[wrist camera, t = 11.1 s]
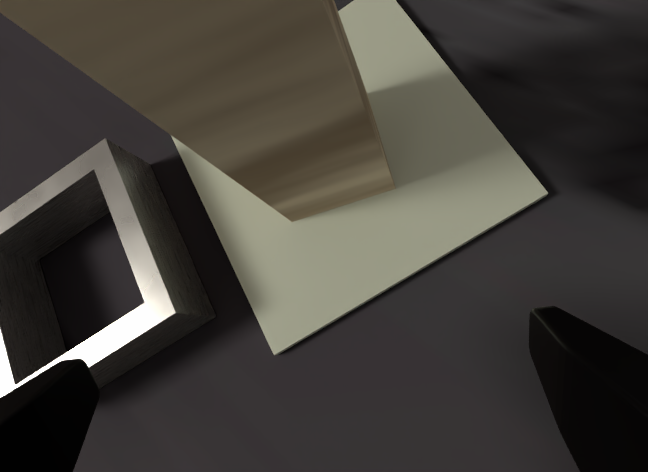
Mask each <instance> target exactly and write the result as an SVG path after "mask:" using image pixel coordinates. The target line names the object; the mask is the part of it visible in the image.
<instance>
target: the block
mask: <svg viewBox="0 0 648 472" xmlns="http://www.w3.org/2000/svg"><path fill="white" fill-rule="evenodd" d="M0 13H2V14H3V15H5V16H6V17H7V18H9V19H10V20H11V21H13V22H14V23H16V24H17V25H18V26H20V27H21V28H23V29H24V30H25V31H27V32H28V33H30V34H31V35H32V36H34V37H35V38H37V39H38V40H39V41H41V42H42V43H44V44H45V45H46V46H48V47H49V48H50V49H52V50H53V51H55V52H56V53H57V54H59V55H60V56H62V57H63V58H64V59H66V60H67V61H69V62H70V63H71V64H73V65H74V66H76V67H77V68H78V69H80V70H81V71H82V72H84V73H85V74H87V75H88V76H89V77H91V78H92V79H94V80H95V81H96V82H98V83H99V84H101V85H102V86H103V87H105V88H106V89H108V90H109V91H110V92H112V93H113V94H115V95H116V96H117V97H119V98H120V99H121V100H123V101H124V102H126V103H127V104H128V105H130V106H131V107H133V108H134V109H135V110H137V111H138V112H140V113H141V114H142V115H144V116H145V117H147V118H148V119H149V120H151V121H152V122H154V123H155V124H156V125H158V126H159V127H160V128H162V129H163V130H165V131H166V132H167V133H169V134H170V135H172V136H173V137H174V138H176V139H177V140H179V141H180V142H181V143H183V144H184V145H186V146H187V147H188V148H190V149H191V150H193V151H194V152H195V153H197V154H198V155H199V156H201V157H202V158H204V159H205V160H206V161H208V162H209V163H211V164H212V165H213V166H215V167H216V168H218V169H219V170H220V171H222V172H223V173H225V174H226V175H227V176H229V177H230V178H231V179H233V180H234V181H236V182H237V183H238V184H240V185H241V186H243V187H244V188H245V189H247V190H248V191H250V192H251V193H252V194H254V195H255V196H257V197H258V198H259V199H261V200H262V201H264V202H265V203H266V204H268V205H269V206H270V207H272V208H273V209H275V210H276V211H277V212H279V213H280V214H282V215H283V216H284V217H286V218H287V219H289V220H290V221H291V222H294V221H297V220H300V219H303V218H306V217H309V216H312V215H315V214H318V213H322V212H325V211H328V210H331V209H334V208H337V207H340V206H343V205H346V204H350V203H353V202H356V201H359V200H362V199H365V198H368V197H371V196H374V195H378V194H381V193H384V192H387V191H390V190H393V189H396V188H395V184H394V181H393V178H392V174H391V171H390V168H389V164H388V161H387V158H386V154H385V151H384V148H383V144H382V141H381V138H380V134H379V131H378V128H377V124H376V121H375V118H374V114H373V111H372V108H371V104H370V101H369V98H368V94H367V92H366V89H365V86H364V83H363V80H362V77H361V75H360V72H359V69H358V66H357V63H356V61H355V58H354V55H353V52H352V49H351V47H350V44H349V41H348V38H347V35H346V33H345V30H344V27H343V24H342V21H341V19H340V16H339V13H338V10H337V7H336V5H335V2H334V0H0Z"/></svg>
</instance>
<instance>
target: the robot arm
mask: <svg viewBox="0 0 648 472" xmlns="http://www.w3.org/2000/svg"><path fill="white" fill-rule="evenodd" d="M529 349H530V354H531V357H532V360H533V362H534V365H535V368H536V370H537V373H538V376H539V378H540V381H541V383H542V386H543V389H544V391H545V394H546V397H547V399H548V402H549V405H550V407H551V410H552V412H553V415H554V418H555V420H556V423H557V425H558V428H559V430H560V433H561V435H562V437H563V439H564V441H565V443H566V445H567V447H568V449H569V451H570V453H571V455H572V457H573V459H574V461H575V462H576V464H577V466H578V468H579V470H580V472H648V355H647V354H645V353H643V352H642V351H640V350H638V349H636V348H634V347H632V346H630V345H628V344H626V343H624V342H622V341H621V340H619V339H617V338H615V337H613V336H611V335H609V334H607V333H605V332H603V331H602V330H600V329H598V328H596V327H594V326H592V325H590V324H588V323H586V322H584V321H583V320H581V319H579V318H577V317H575V316H573V315H571V314H569V313H567V312H565V311H563V310H562V309H560V308H558V307H555V306H548V307H539V308H533V309H532V310H531V312H530V320H529ZM98 400H99V387H98V385H97V383H96V381H95V379H94V377H93V375H92V373H91V371H90V369H89V367H88V365H87V363H86V362H85V361H84V360H83V359H80V358H77V359H67V360H62V361H60V362H58V363H56V364H54V365H53V366H51V367H50V368H48V369H46V370H45V371H43V372H41V373H40V374H38V375H37V376H35V377H33V378H32V379H30V380H28V381H27V382H25V383H23V384H22V385H20V386H19V387H17V388H15V389H14V390H12V391H10V392H9V393H7V394H6V395H4V396H2V397H1V398H0V472H73V470H74V467H75V464H76V462H77V459H78V456H79V454H80V451H81V448H82V445H83V442H84V439H85V437H86V434H87V431H88V428H89V425H90V423H91V420H92V417H93V414H94V411H95V409H96V406H97V403H98Z"/></svg>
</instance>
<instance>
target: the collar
mask: <svg viewBox="0 0 648 472" xmlns="http://www.w3.org/2000/svg"><path fill="white" fill-rule="evenodd" d="M109 212H111V215H112V218H113V220H114V223H115V225H116V228H117V231H118V233H119V236H120V239H121V241H122V244H123V246H124V249H125V252H126V254H127V257H128V260H129V262H130V265H131V267H132V270H133V273H134V275H135V278H136V281H137V283H138V286H139V288H140V291H141V294H142V296H143V299H144V302H145V303H144V304H142V305H140V306H139V307H137V308H136V309H134V310H133V311H131V312H130V313H128V314H126V315H125V316H123V317H122V318H120V319H119V320H117V321H115V322H114V323H112V324H111V325H109V326H108V327H106V328H104V329H103V330H101V331H100V332H98V333H97V334H95V335H93V336H92V337H90V338H89V339H87V340H86V341H84V342H82V343H81V344H79V345H78V346H76V347H75V348H73V349H71V350H70V351H68V352H67V350H66V347H65V344H64V340H63V337H62V334H61V331H60V327H59V324H58V321H57V317H56V314H55V311H54V307H53V304H52V301H51V298H50V294H49V291H48V288H47V284H46V281H45V278H44V274H43V271H42V268H41V265H40V261H39V260H40V259H41V258H43V257H44V256H46V255H47V254H49V253H50V252H51V251H53V250H54V249H56V248H57V247H59V246H60V245H62V244H63V243H65V242H66V241H68V240H69V239H71V238H72V237H74V236H75V235H77V234H78V233H79V232H81V231H82V230H84V229H85V228H87V227H88V226H90V225H91V224H93V223H94V222H96V221H97V220H99V219H100V218H102V217H103V216H105V215H106V214H107V213H109ZM215 317H216V314H215V312H214V310H213V307H212V305H211V303H210V300H209V298H208V296H207V294H206V291H205V289H204V287H203V284H202V282H201V280H200V278H199V275H198V273H197V271H196V268H195V266H194V264H193V261H192V259H191V257H190V255H189V252H188V250H187V248H186V245H185V243H184V241H183V239H182V236H181V234H180V232H179V229H178V227H177V225H176V223H175V220H174V218H173V216H172V213H171V211H170V209H169V206H168V204H167V202H166V200H165V197H164V195H163V193H162V190H161V188H160V186H159V184H158V181H157V179H156V177H155V174H154V172H153V170H152V167H151V165H150V164H149V163H147V162H146V161H144V160H142V159H140V158H139V157H137V156H135V155H133V154H132V153H130V152H128V151H126V150H125V149H123V148H121V147H119V146H118V145H116V144H114V143H112V142H111V141H109V140H107V139H106V138H105V139H104V140H102V141H101V142H99V143H98V144H96V145H95V146H94V147H92V148H91V149H89V150H88V151H87V152H85V153H84V154H82V155H81V156H80V157H78V158H77V159H75V160H74V161H72V162H71V163H70V164H68V165H67V166H65V167H64V168H63V169H61V170H60V171H58V172H57V173H55V174H54V175H53V176H51V177H50V178H48V179H47V180H46V181H44V182H43V183H41V184H40V185H38V186H37V187H36V188H34V189H33V190H31V191H30V192H29V193H27V194H26V195H24V196H23V197H21V198H20V199H19V200H17V201H16V202H14V203H13V204H12V205H10V206H9V207H7V208H6V209H4V210H3V211H2V212H0V398H1V397H2V396H4V395H6V394H7V393H9V392H10V391H12V390H14V389H15V388H17V387H19V386H20V385H22V384H23V383H25V382H27V381H28V380H30V379H32V378H33V377H35V376H37V375H38V374H40V373H41V372H43V371H45V370H46V369H48V368H50V367H51V366H53V365H54V364H56V363H58V362H60V361H62V360H67V359H77V358H80V359H83V360H84V361H85V362H86V363H87V365H88V367H89V369H90V371H91V373H92V375H93V377H94V379H95V381H96V383H97V385H98V387H99V389H100V388H101V387H103V386H105V385H106V384H108V383H110V382H111V381H113V380H114V379H116V378H118V377H119V376H121V375H122V374H124V373H126V372H127V371H129V370H131V369H132V368H134V367H135V366H137V365H139V364H140V363H142V362H144V361H145V360H147V359H148V358H150V357H152V356H153V355H155V354H157V353H158V352H160V351H161V350H163V349H165V348H166V347H168V346H169V345H171V344H173V343H174V342H176V341H178V340H179V339H181V338H182V337H184V336H186V335H187V334H189V333H191V332H192V331H194V330H195V329H197V328H199V327H200V326H202V325H204V324H205V323H207V322H208V321H210V320H212V319H213V318H215Z"/></svg>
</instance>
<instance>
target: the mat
mask: <svg viewBox="0 0 648 472" xmlns="http://www.w3.org/2000/svg"><path fill="white" fill-rule="evenodd" d="M338 13H339V16H340V19H341V21H342V24H343V27H344V30H345V33H346V35H347V38H348V41H349V44H350V47H351V49H352V52H353V55H354V58H355V61H356V63H357V66H358V69H359V72H360V75H361V77H362V80H363V83H364V86H365V89H366V92H367V94H368V98H369V101H370V104H371V108H372V111H373V114H374V118H375V121H376V124H377V128H378V131H379V134H380V138H381V141H382V144H383V148H384V151H385V154H386V158H387V161H388V164H389V168H390V171H391V174H392V178H393V181H394V184H395V188H396V189H393V190H390V191H387V192H384V193H381V194H378V195H374V196H371V197H368V198H365V199H362V200H359V201H356V202H353V203H350V204H346V205H343V206H340V207H337V208H334V209H331V210H328V211H325V212H322V213H318V214H315V215H312V216H309V217H306V218H303V219H300V220H297V221H294V222H291V221H290V220H289V219H287V218H286V217H284V216H283V215H282V214H280V213H279V212H277V211H276V210H275V209H273V208H272V207H270V206H269V205H268V204H266V203H265V202H264V201H262V200H261V199H259V198H258V197H257V196H255V195H254V194H252V193H251V192H250V191H248V190H247V189H245V188H244V187H243V186H241V185H240V184H238V183H237V182H236V181H234V180H233V179H231V178H230V177H229V176H227V175H226V174H225V173H223V172H222V171H220V170H219V169H218V168H216V167H215V166H213V165H212V164H211V163H209V162H208V161H206V160H205V159H204V158H202V157H201V156H199V155H198V154H197V153H195V152H194V151H193V150H191V149H190V148H188V147H187V146H186V145H184V144H183V143H181V142H180V141H179V140H177V139H176V138H174V137H173V136H172V135H171V136H172V139H173V141H174V143H175V145H176V147H177V149H178V151H179V154H180V156H181V158H182V160H183V162H184V164H185V166H186V168H187V171H188V173H189V175H190V177H191V179H192V181H193V183H194V186H195V188H196V190H197V192H198V194H199V196H200V198H201V201H202V203H203V205H204V207H205V209H206V211H207V213H208V215H209V218H210V220H211V222H212V224H213V226H214V228H215V230H216V233H217V235H218V237H219V239H220V241H221V243H222V245H223V247H224V250H225V252H226V254H227V256H228V258H229V260H230V262H231V265H232V267H233V269H234V271H235V273H236V275H237V277H238V279H239V282H240V284H241V286H242V288H243V290H244V292H245V294H246V297H247V299H248V301H249V303H250V305H251V307H252V309H253V311H254V314H255V316H256V318H257V320H258V322H259V324H260V326H261V329H262V331H263V333H264V335H265V337H266V339H267V341H268V343H269V346H270V348H271V350H272V352H273V354H274V355H278V354H280V353H282V352H283V351H285V350H287V349H288V348H290V347H292V346H294V345H295V344H297V343H299V342H300V341H302V340H304V339H305V338H307V337H309V336H310V335H312V334H314V333H316V332H317V331H319V330H321V329H322V328H324V327H326V326H327V325H329V324H331V323H332V322H334V321H336V320H338V319H339V318H341V317H343V316H344V315H346V314H348V313H349V312H351V311H353V310H354V309H356V308H358V307H360V306H361V305H363V304H365V303H366V302H368V301H370V300H371V299H373V298H375V297H376V296H378V295H380V294H382V293H383V292H385V291H387V290H388V289H390V288H392V287H393V286H395V285H397V284H398V283H400V282H402V281H404V280H405V279H407V278H409V277H410V276H412V275H414V274H415V273H417V272H419V271H420V270H422V269H424V268H426V267H427V266H429V265H431V264H432V263H434V262H436V261H437V260H439V259H441V258H442V257H444V256H446V255H448V254H449V253H451V252H453V251H454V250H456V249H458V248H459V247H461V246H463V245H464V244H466V243H468V242H470V241H471V240H473V239H475V238H476V237H478V236H480V235H481V234H483V233H485V232H486V231H488V230H490V229H492V228H493V227H495V226H497V225H498V224H500V223H502V222H503V221H505V220H507V219H508V218H510V217H512V216H514V215H515V214H517V213H519V212H520V211H522V210H524V209H525V208H527V207H529V206H530V205H532V204H534V203H536V202H537V201H539V200H541V199H542V198H544V197H546V196H547V194H548V192H547V191H546V190H545V188H544V187H543V186H542V185H541V183H540V182H539V181H538V180H537V178H536V177H535V176H534V175H533V173H532V172H531V171H530V169H529V168H528V167H527V166H526V164H525V163H524V162H523V161H522V159H521V158H520V157H519V156H518V154H517V153H516V152H515V150H514V149H513V148H512V147H511V145H510V144H509V143H508V142H507V140H506V139H505V138H504V137H503V135H502V134H501V133H500V132H499V130H498V129H497V128H496V126H495V125H494V124H493V123H492V121H491V120H490V119H489V118H488V116H487V115H486V114H485V113H484V111H483V110H482V109H481V108H480V106H479V105H478V104H477V102H476V101H475V100H474V99H473V97H472V96H471V95H470V94H469V92H468V91H467V90H466V89H465V87H464V86H463V85H462V84H461V82H460V81H459V80H458V78H457V77H456V76H455V75H454V73H453V72H452V71H451V70H450V68H449V67H448V66H447V65H446V63H445V62H444V61H443V60H442V58H441V57H440V56H439V54H438V53H437V52H436V51H435V49H434V48H433V47H432V46H431V44H430V43H429V42H428V41H427V39H426V38H425V37H424V36H423V34H422V33H421V32H420V30H419V29H418V28H417V27H416V25H415V24H414V23H413V22H412V20H411V19H410V18H409V17H408V15H407V14H406V13H405V12H404V10H403V9H402V8H401V6H400V5H399V4H398V3H397V1H396V0H354V1H352V2H351V3H350V4H348V5H347V6H345V7H344V8H342V9H341V10H340V11H338Z"/></svg>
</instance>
